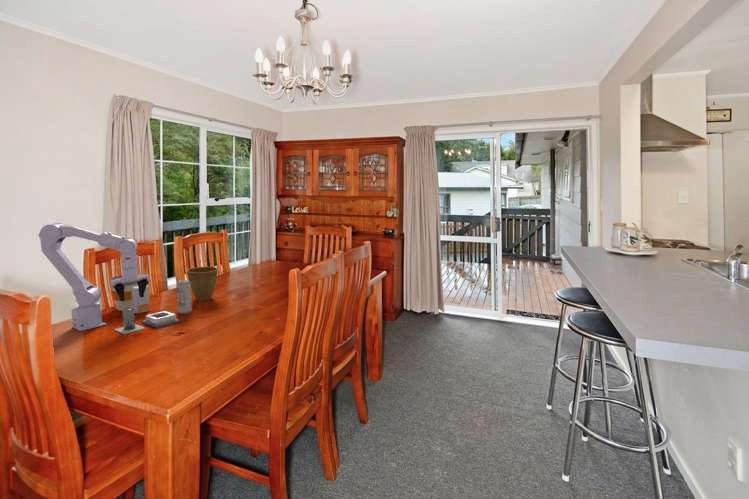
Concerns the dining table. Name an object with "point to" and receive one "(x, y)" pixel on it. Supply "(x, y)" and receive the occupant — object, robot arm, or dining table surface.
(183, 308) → the energy drink can
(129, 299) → the reusable coffee cup
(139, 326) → the mat
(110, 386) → the dining table surface
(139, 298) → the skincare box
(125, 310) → the key peg
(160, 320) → the socket block
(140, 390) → the dining table surface
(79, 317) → the robot arm
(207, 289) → the plant pot
